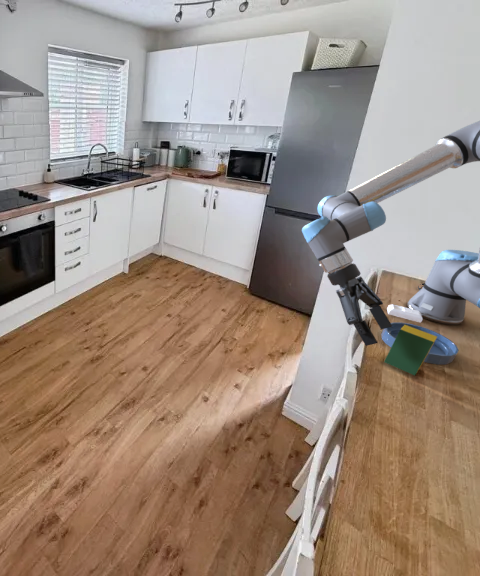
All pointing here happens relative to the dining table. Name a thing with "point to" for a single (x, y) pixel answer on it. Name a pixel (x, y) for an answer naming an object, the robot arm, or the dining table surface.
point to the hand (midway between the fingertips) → (379, 335)
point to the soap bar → (405, 313)
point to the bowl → (439, 352)
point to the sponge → (410, 349)
